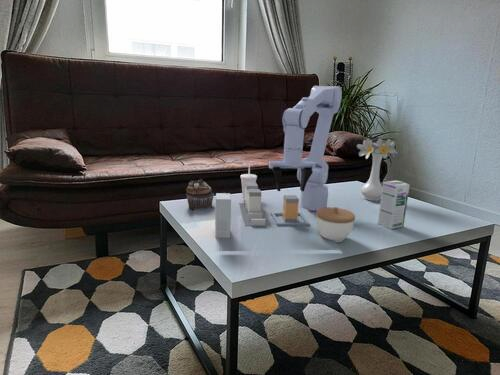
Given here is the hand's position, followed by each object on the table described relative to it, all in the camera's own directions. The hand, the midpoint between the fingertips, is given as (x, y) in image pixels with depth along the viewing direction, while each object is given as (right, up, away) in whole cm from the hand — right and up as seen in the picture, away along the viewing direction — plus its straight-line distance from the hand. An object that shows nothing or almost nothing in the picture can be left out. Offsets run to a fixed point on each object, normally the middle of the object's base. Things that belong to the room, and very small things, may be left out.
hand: (290, 190), depth 110 cm
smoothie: (-14, -4, +23) cm, 27 cm away
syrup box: (+33, -12, +3) cm, 35 cm away
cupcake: (-31, -6, +13) cm, 34 cm away
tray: (0, -10, +2) cm, 10 cm away
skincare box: (-21, -13, -11) cm, 27 cm away
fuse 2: (-12, -8, +6) cm, 15 cm away
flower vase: (+37, -4, +32) cm, 49 cm away
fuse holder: (-12, -9, +6) cm, 16 cm away
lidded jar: (+11, -14, -10) cm, 20 cm away
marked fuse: (0, -10, +2) cm, 10 cm away
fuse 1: (-13, -6, +14) cm, 19 cm away
